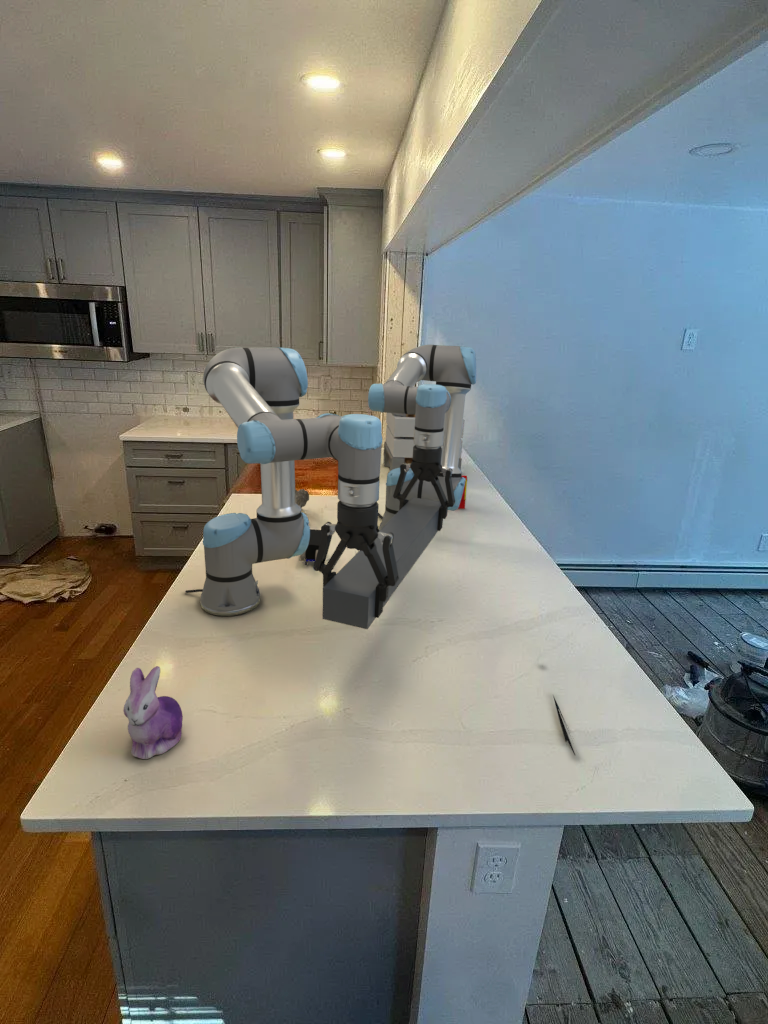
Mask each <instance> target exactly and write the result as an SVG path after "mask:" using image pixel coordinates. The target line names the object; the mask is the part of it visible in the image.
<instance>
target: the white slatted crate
mask: <svg viewBox="0 0 768 1024" xmlns="http://www.w3.org/2000/svg"><path fill="white" fill-rule="evenodd" d="M385 414H386V415H385V423H386V428H385V438H384V442H383V466H384V467H388V468H389V472H390V471H391V470H393V469H396V468H400V465H401V464H403V463H404V462H405V463H407V464H411V463H412V458H413V447H414V446H415V444H414V429H415V415H411V414H399V413H385ZM464 429H465V419H464V418H463V424H462V433H461V443H460V453H459V462H458V467H459V469H460V470H461V471H462V461H463V460H462V453H463V442H464V441H463V440H462V439H463V438H464V431H465V430H464Z"/></svg>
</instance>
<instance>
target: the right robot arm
mask: <svg viewBox="0 0 768 1024" xmlns="http://www.w3.org/2000/svg"><path fill="white" fill-rule="evenodd" d="M476 355H477V354H476V351H475V349H474V348H473V347H470V346H462V345H444V344H443V345H441V344H424V345H420V346H417V347H414V348H412V349H410V350H408V351H406V352H405V353H404V354H403V355H402V356H401V357H400V358H399V359H398V361H397V364H396V368H395V369H394V371H393V372H392V374H391V375H390V376H389V377H388V378H387V380H386V381H385V383H381V382H380V383H372V384H371V385H370V387H369V389H368V395H367V404H368V408H369V410H370V411H373V412H376V413H377V412H378V413H383V414H384V413H385V414H386V413H399V414H411V415H415V429H414V444H415V446H414V447H413V458H412V463H411V464H407V463H405V462H404V463H403V464H401V465H400V468H396V469H393V470H391V471H390V470H389V472H388V473H387V475H386V482H385V504H384V505H385V507H384V508H385V509H384V513H383V515H382V514H381V513H380V512H378V518H380V519H381V522H379V525H378V529H379V531H380V530H381V529H382V528H383V527H384V526H385V525H386V524H387V523H388V522H389V521H390V520H391V519H392V518H393V517H394V516H395V515H396V514H397V513H398V511H399V510H400V509H401V508H402V507H403V506H404V505H405V504H406V503H407V502H408V501H409V500H410V499H411V498H412V497H414V498H420V499H427V500H433V501H440V503H441V506H440V507H439V516H438V528H437V531H438V532H441V531H442V529H443V525H444V520H446V519H447V517H448V511H451V512H452V511H453V512H454V511H457V510H459V509H458V507H459V505H460V502H461V498H462V494H463V490H464V486H465V481H466V479H465V478H464V477H462V475H463V472H462V469H461V470H460V469H459V467H458V462H459V453H460V443H461V440H462V438H461V433H462V424H463V419H464V412H465V403H466V395H467V394H468V393H469V392H470V391H471V390H472V385H473V386H474V385H476V384H477V357H476ZM421 381H425V382H435V383H424V384H419V385H418V386H416V384H417V383H419V382H421Z"/></svg>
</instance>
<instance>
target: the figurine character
mask: <svg viewBox="0 0 768 1024" xmlns="http://www.w3.org/2000/svg"><path fill="white" fill-rule="evenodd" d="M321 538H322V534H321V529H312V528H310V540H309V544H308V547H307V549H306V551H305V552H304V553H303V554H301V555H299V561H300V562H304V566H308V563H309V562H310V563H311V562H312V563H313V565H314V564H315V560H316V557H317V553H318V549H319V545H320V542H321Z"/></svg>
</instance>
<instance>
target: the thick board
mask: <svg viewBox="0 0 768 1024" xmlns="http://www.w3.org/2000/svg"><path fill="white" fill-rule="evenodd" d="M440 506H441V503H440V501H433V500H427V499H420V498H414V497H412V498H411V499H410V500H409V501H408V502H407V503H406V504H405V505H404V506H403V507H402V508H401V509H400V510H399V511H398V513H397V514H396V515H395V516H394V517H393V518H392V519H391V520H390V521H389V522H388V523H387V524H386V525H385V526H384V527H383V528H382V529H381V530H380V532H383V533H387V534H388V533H389V532H392V533H393V534H394V539H393V549H394V554H395V559H396V564H397V570H398V575H399V580H398V582H397V583H396V584H395V586H389V593H388V598H387V599H386V601H385V602H383V608H384V607H385V606H386V604H387V603H388V601H390V599H391V597H392V596H393V595H394V593H395V592H396V591H397V589H398V588H399V587H400V585H401V583H403V581H404V579H405V578H406V576H407V575H408V574H409V573H410V571H411V570H412V568H414V567H413V566H414V565H415V564H416V563H417V561H418V560H419V559H420V557H421V556H422V554H423V553H424V552H425V550H426V549H427V547H428V546H429V544H430V543H431V542H432V541H433V539H434V538H435V536H436V535H437V533H438V532H439V531H437V528H438V516H439V507H440ZM374 542H375V544H376V547H377V552H378V554H379V556H380V558H381V560H382V563H383V565H384V567H385V569H386V565H385V560H384V555H383V545H381V544H380V540H379V539H378V538H377V539H376V540H375V541H374ZM386 572H387V570H386ZM378 584H379V582H378V580H377V578H376V575H375V573H374V571H373V569H372V567H371V564H370V562H369V560H368V558H367V556H365V554H364V552H363V551H360V550H358V552H356V554H355V555H354V556H353V557H352V558H351V559H350V560H349V561H348V562H347V563H346V564H345V565H343V566H342V568H341V569H340V570H339V571H337V572H336V575H335V576H334V577H333V578H332V579H331V580H330V581H329V582H328V583H327V584H326V585H325V586H324V587H323V586H322V620H324V621H325V620H326V621H330V622H334V623H338V624H342V625H347V626H352V627H355V628H358V629H359V628H360V629H364V630H368V629H369V628H370V626H371V625H372V623H373V622H374V621H375V619H377V618H376V617H375V596H376V586H377V585H378Z"/></svg>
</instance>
